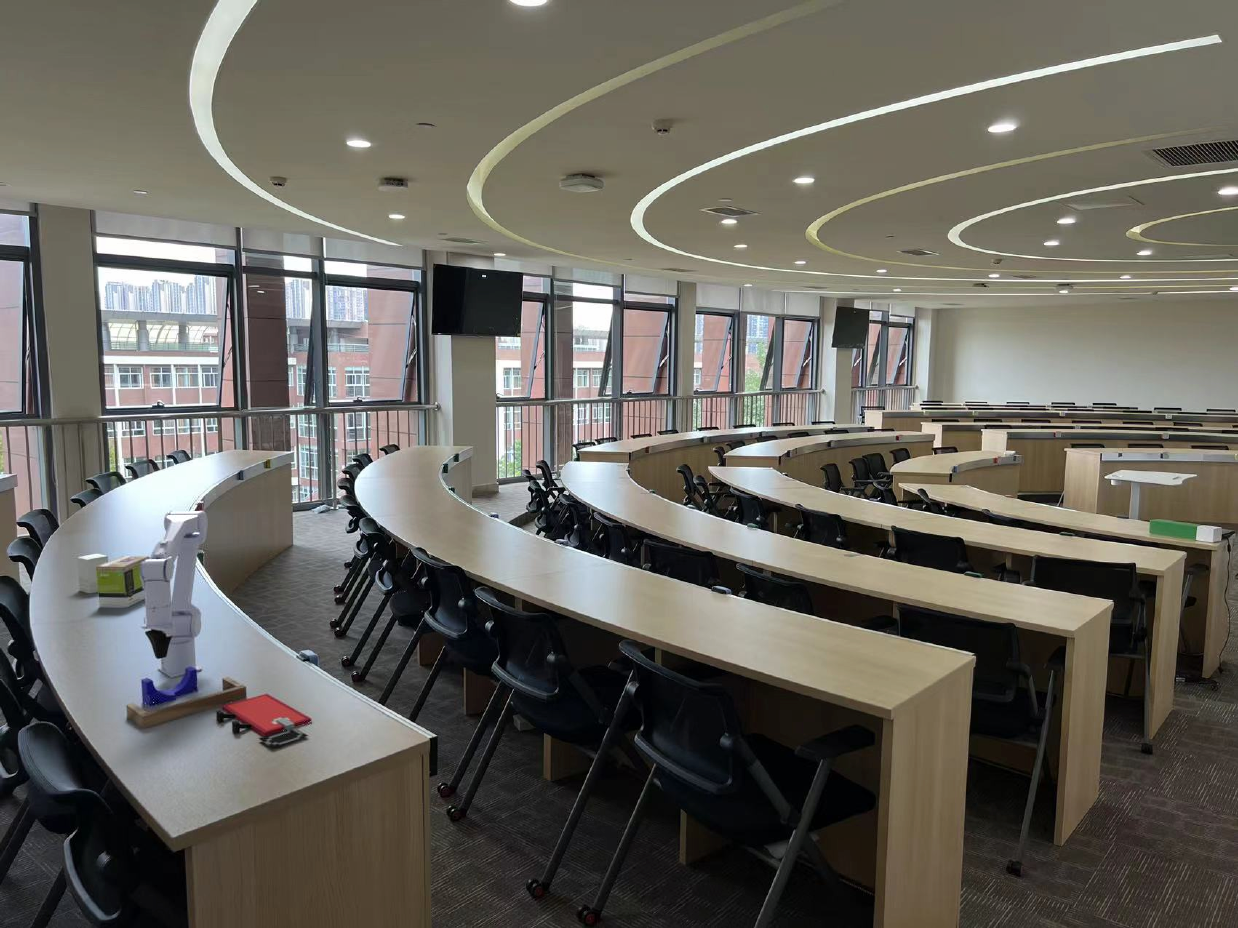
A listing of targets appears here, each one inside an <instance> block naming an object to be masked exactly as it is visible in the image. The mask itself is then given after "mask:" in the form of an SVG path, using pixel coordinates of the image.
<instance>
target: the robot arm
mask: <svg viewBox="0 0 1238 928" xmlns="http://www.w3.org/2000/svg"><path fill="white" fill-rule="evenodd" d="M208 521H209V520H208V516H207V513H206V511H204V510H195V511H193V510H192V511H190V510H187V511H173V510H169V511H167V512H166V514H165V515H164V519H163V528H164V531H165V535H164V536H163V537H164V538H163V540H160V541H158V542H157V543H156V545H154V548H153V550H152V552H151V554H150V556H149V559H146V560H145V561H143V562H142V563H141V566H140V579H141V581H142V588H143V589H145V599H144V603H145V617H143V624H141V625H140V627H141V628H142V629H143V630H147V631H144V634H145V636H146V638H147V639H148V640H149V642H150V644H151V648H152V651H153V654H154V656H155V658H156V659H157V660H159V659H160V664H161V665H160V666H159V667H157V670H158V671H160V672H162V673H164V674H165V675H167V676H168V677H170V678H176V677H180V676H184V674H185V668H187V667H191V666H192V667H193V668H195V669H197V672H198V671H199V672H200V671H202V670H203V668H202V667H200V666H199V665H197V664H196V663H197V662H196V660H197V659H196V641H195V640H196V639H195V638H197V637H198V636H199V635H200V633H201V629H202V612H201V610H200V609H199V607H197V606H195V605H194V604H193V603H192V599H193V590H194V583H195V575H196V567H197V558H198V552H199V547H200V545H201V544H203V543H205V542H206V539H207V533H208V527H209V526H208V524H209V523H208ZM175 562H176V567H175ZM174 571H175V574H174ZM173 578H174V580H173V588H172V589H173V590H172V589H171V581H172V579H173ZM171 590H172V591H171ZM171 592H172V593H171ZM171 594H172V595H171Z"/></svg>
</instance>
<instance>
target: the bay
mask: <svg viewBox="0 0 1238 928" xmlns="http://www.w3.org/2000/svg"><path fill="white" fill-rule="evenodd" d="M221 679H222V681H221V682H222V683H221V684H222V690H220V691H218V692H214V693H211V694H207V695H204V696H201V697H200V696H199V697H196V698H193V699H189V700H186V701H183V702H178V703H176V704H173V705H169V706H166V707H162V708H158V709H154V710H151V711H146V710H144V709H143V708H142V707H140V706H138V705H137V704H135V702H132V703H128V704H126V717H127V718H128V719H130V720H131V721H132V722H133V723H135V724H136V725H138V726H139V727H140V728H141V729H144V730H145V729H149V728H151V727H155V726H158V725H161V724H164V723H167V722H170V721H171V722H172V721H174V720H177V719H181V718H185V717H188V716H191V715H194V714H198V713H201V712H204V711H207V710H211V708H212V709H215V708H218V707H221V706H220V705H222V706H223V705H227V703H228V704H230V702H232V703H234V702H238V701H242V700H245V699H248V698H247V686H246V685H244V684H243V683H240V682H238V681H236V680H235V679H233V678H231V677H229V676H225V677H222V678H221Z"/></svg>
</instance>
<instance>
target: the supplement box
mask: <svg viewBox="0 0 1238 928" xmlns="http://www.w3.org/2000/svg"><path fill="white" fill-rule="evenodd" d="M76 559H77V574H78V575H77V576H78V584H79V585H78V587H79V588H78V589H79V591H80V592H84V593H87V594H93V593H98V584H97V572H96V566H99V565H101V564H104V563H107V562H109V556H108V555H104V554H101V553H93V554H92V553H91V554H89V555H87V554H86V555H83V556H78V557H77V558H76Z"/></svg>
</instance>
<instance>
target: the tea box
mask: <svg viewBox="0 0 1238 928" xmlns="http://www.w3.org/2000/svg"><path fill="white" fill-rule="evenodd" d="M149 558H150V556H145V555H144V556H131V555H130V556H128V555H127V556H126V555H122V556H120V557H117V558H114V559H112V560H108V562H107V563H104V564H101V565H99V566H96V572H97V584H98V592H97V593H98V606H99V608H107V609H109V608H114V609H115V608H116V609H127V608H129V607H131V606H133V605H135V604H137V603H139V602H141V601H143V600H144V601H145V589H143V588H142V581H141V579H140V566H141V563H142V562H143V561H145V560H146V559H149Z"/></svg>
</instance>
